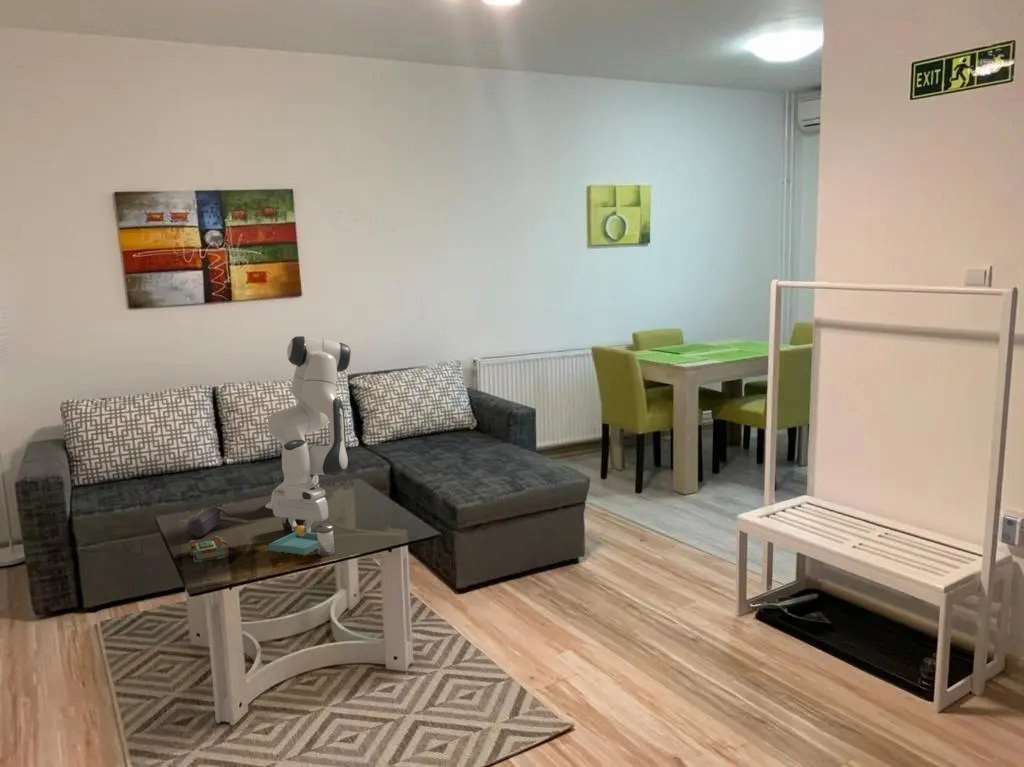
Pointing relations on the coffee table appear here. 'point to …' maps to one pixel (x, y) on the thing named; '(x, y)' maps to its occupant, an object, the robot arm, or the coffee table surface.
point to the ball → (300, 531)
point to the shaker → (325, 539)
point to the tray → (295, 544)
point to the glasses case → (204, 521)
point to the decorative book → (208, 549)
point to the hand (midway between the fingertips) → (301, 531)
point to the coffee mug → (288, 526)
